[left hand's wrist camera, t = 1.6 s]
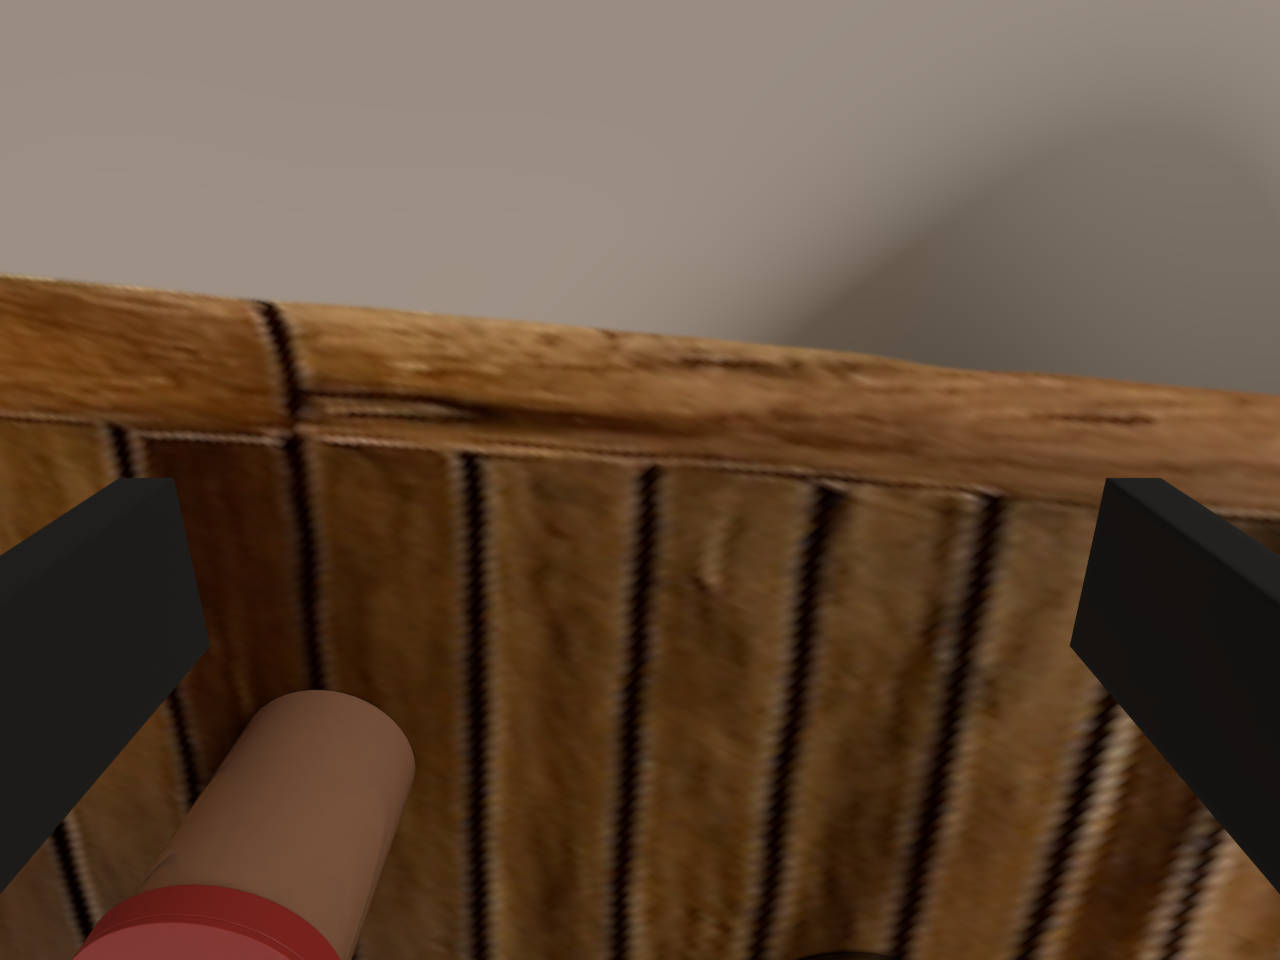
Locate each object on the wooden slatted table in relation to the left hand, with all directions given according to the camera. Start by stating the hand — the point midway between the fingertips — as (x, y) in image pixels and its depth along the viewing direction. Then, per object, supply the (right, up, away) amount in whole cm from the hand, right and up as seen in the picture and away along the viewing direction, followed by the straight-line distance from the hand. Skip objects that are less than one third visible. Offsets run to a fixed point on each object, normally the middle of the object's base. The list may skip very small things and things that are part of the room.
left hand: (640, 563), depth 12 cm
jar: (-18, -15, +36) cm, 43 cm away
